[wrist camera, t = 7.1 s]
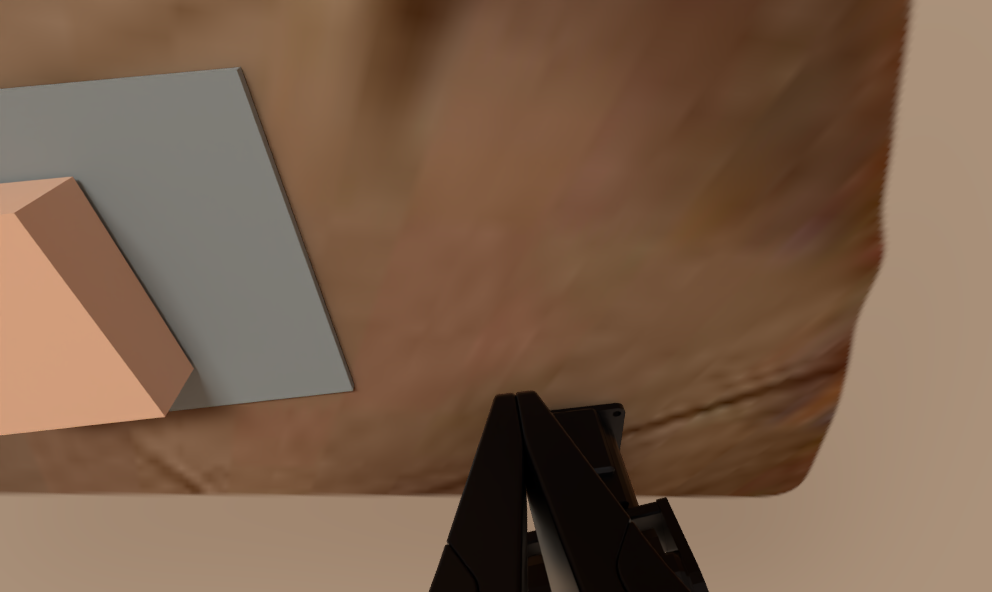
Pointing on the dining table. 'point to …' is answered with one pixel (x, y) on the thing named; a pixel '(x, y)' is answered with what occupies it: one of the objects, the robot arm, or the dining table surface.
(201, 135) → the mat
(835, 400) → the dining table surface
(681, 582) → the robot arm
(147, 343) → the tile
